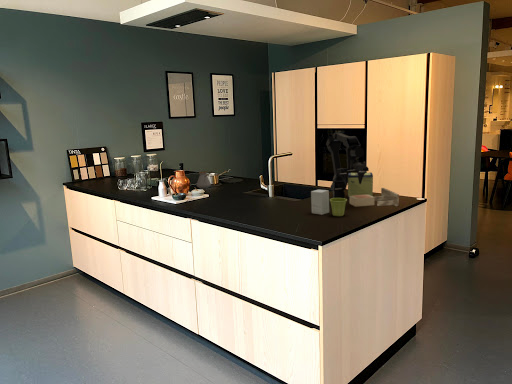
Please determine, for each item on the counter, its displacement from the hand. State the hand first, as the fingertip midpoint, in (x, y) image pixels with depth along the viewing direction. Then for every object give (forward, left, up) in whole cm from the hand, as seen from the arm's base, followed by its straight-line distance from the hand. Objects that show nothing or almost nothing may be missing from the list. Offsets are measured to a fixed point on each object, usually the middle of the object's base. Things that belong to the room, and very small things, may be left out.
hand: (353, 184), depth 246 cm
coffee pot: (-88, +93, -13) cm, 129 cm away
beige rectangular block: (+6, +3, -13) cm, 15 cm away
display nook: (+18, +3, -13) cm, 22 cm away
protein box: (+12, +23, -13) cm, 29 cm away
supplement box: (-23, -11, -13) cm, 28 cm away
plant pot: (-15, -19, -13) cm, 27 cm away
